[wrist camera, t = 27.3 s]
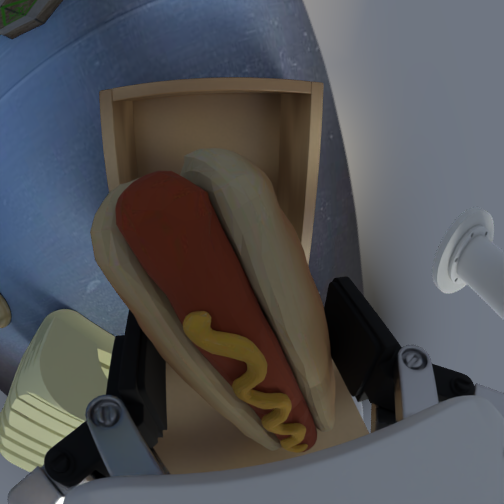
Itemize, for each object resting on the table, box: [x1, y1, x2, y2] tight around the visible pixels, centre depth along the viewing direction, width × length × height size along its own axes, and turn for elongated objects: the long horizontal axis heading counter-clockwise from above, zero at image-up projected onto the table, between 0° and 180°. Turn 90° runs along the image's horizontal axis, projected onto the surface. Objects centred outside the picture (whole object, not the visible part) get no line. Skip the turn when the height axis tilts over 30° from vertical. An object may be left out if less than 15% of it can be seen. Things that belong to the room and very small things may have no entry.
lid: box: [154, 359, 369, 475], centre depth 17 cm, size 20×15×5 cm
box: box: [99, 77, 323, 264], centre depth 23 cm, size 19×15×8 cm
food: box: [90, 148, 335, 453], centre depth 10 cm, size 14×6×5 cm, turn 19°
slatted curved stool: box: [0, 309, 115, 472], centre depth 27 cm, size 30×16×18 cm, turn 130°
